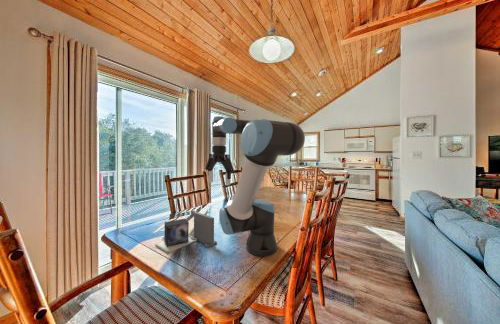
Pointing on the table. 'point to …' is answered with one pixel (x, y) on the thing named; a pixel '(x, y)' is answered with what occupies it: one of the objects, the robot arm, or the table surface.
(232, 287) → the table surface
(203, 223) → the screen
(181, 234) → the small box
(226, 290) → the table surface
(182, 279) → the table surface
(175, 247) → the pad
